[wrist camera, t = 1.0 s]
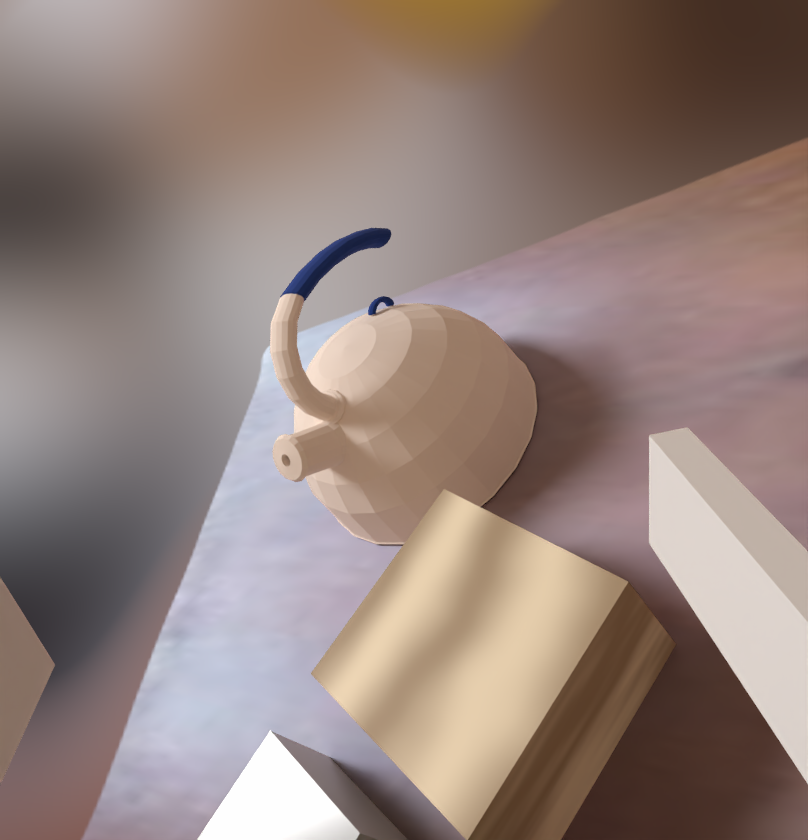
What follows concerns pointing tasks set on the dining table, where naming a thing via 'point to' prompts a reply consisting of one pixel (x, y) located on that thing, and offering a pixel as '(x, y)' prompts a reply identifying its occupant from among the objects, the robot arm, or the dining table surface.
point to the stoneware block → (296, 800)
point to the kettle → (397, 406)
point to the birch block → (495, 670)
